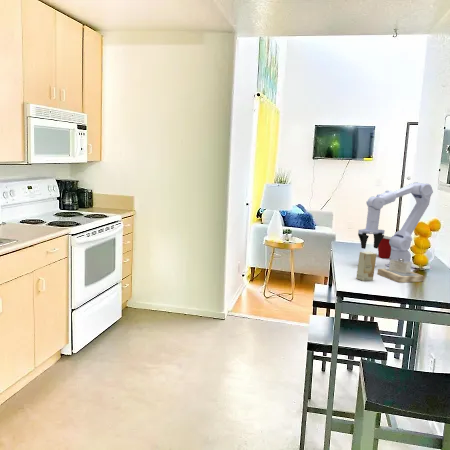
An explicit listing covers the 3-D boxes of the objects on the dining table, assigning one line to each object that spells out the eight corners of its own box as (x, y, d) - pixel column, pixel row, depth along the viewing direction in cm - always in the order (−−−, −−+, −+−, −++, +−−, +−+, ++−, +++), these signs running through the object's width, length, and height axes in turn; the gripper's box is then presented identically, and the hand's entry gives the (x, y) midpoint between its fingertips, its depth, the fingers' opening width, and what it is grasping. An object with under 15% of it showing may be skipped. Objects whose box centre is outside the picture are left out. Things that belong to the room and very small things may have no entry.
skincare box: (362, 281, 195) (366, 253, 193) (355, 278, 199) (359, 251, 197) (373, 280, 198) (377, 253, 196) (366, 277, 202) (369, 251, 200)
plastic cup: (398, 259, 246) (401, 238, 244) (382, 260, 242) (385, 238, 240) (385, 255, 256) (388, 234, 254) (369, 255, 252) (372, 234, 250)
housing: (393, 269, 210) (395, 256, 209) (410, 273, 205) (412, 260, 204) (389, 270, 207) (390, 257, 206) (405, 274, 202) (407, 261, 201)
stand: (400, 273, 215) (401, 267, 215) (423, 281, 202) (424, 275, 202) (377, 274, 210) (377, 268, 209) (399, 282, 197) (399, 276, 197)
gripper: (378, 219, 226) (375, 246, 229) (355, 219, 221) (352, 246, 223) (388, 222, 220) (385, 249, 222) (365, 222, 214) (361, 249, 216)
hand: (369, 248), depth 222 cm, fingers open, 7 cm apart
